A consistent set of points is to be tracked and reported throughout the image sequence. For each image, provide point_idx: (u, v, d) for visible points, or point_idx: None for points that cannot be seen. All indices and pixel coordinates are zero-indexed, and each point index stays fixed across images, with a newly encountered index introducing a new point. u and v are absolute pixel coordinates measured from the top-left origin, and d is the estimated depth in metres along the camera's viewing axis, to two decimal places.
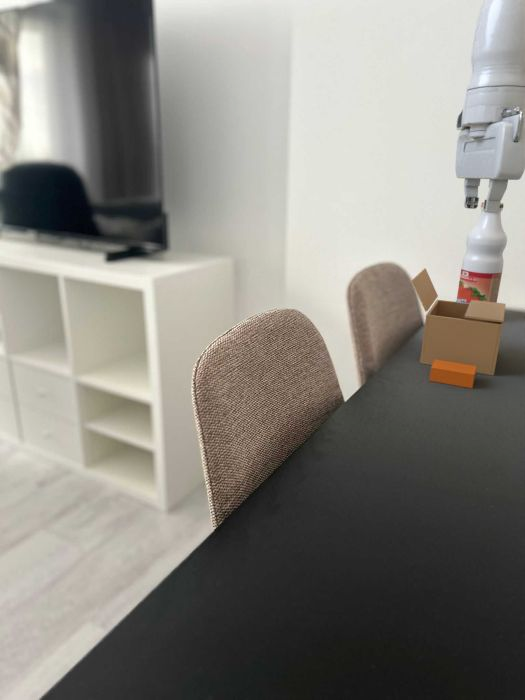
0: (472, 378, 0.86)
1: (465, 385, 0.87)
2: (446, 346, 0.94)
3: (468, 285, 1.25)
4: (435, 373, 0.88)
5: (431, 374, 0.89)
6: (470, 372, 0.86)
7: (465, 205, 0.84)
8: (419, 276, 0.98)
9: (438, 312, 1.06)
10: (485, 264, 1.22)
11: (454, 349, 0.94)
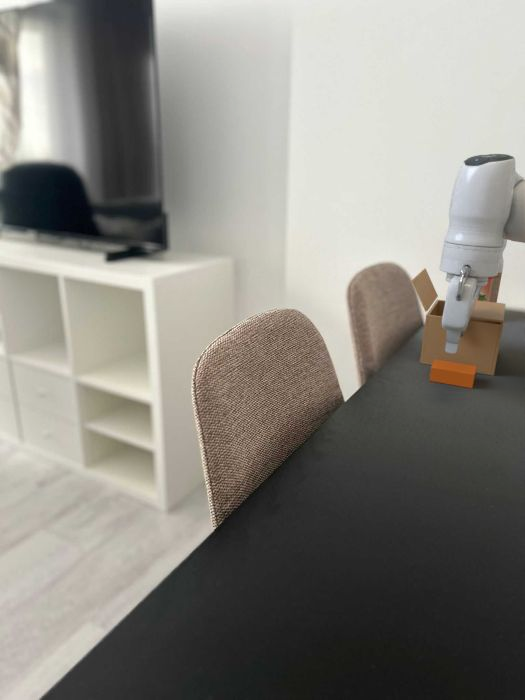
0: (472, 378, 0.86)
1: (465, 385, 0.87)
2: None
3: None
4: (435, 373, 0.88)
5: (431, 374, 0.89)
6: (470, 372, 0.86)
7: None
8: (419, 276, 0.98)
9: (438, 312, 1.06)
10: None
11: None
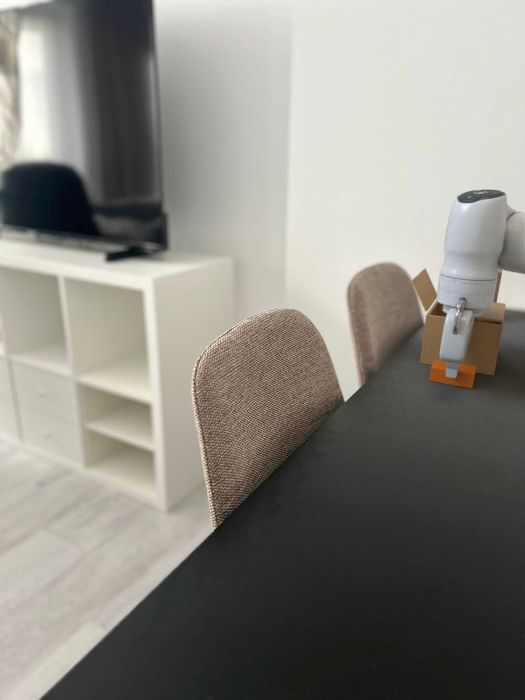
0: (472, 378, 0.86)
1: (465, 385, 0.86)
2: None
3: None
4: (434, 373, 0.88)
5: (431, 374, 0.89)
6: (470, 372, 0.86)
7: None
8: (419, 276, 0.98)
9: (438, 312, 1.06)
10: None
11: None
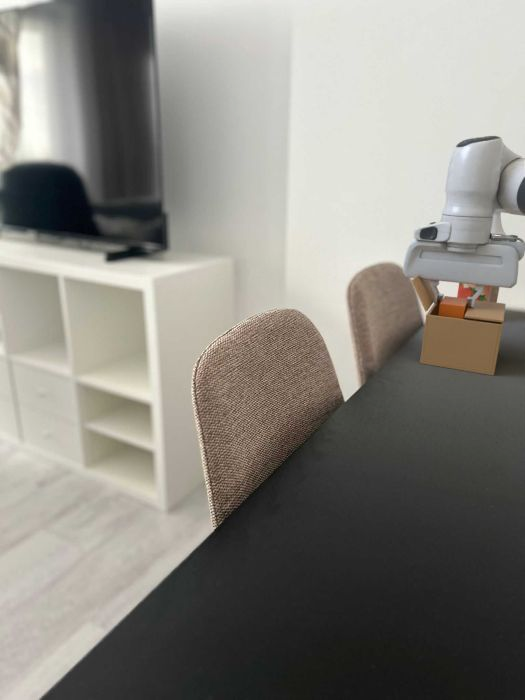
0: None
1: None
2: (446, 346, 0.94)
3: (468, 285, 1.25)
4: (464, 310, 0.95)
5: (464, 313, 0.95)
6: (465, 299, 1.00)
7: (437, 302, 0.99)
8: None
9: (438, 312, 1.06)
10: None
11: (454, 349, 0.94)
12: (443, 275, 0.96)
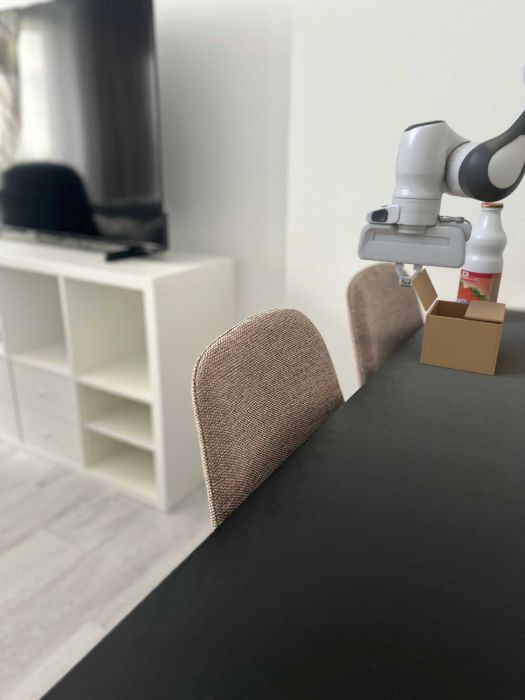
0: None
1: None
2: (446, 346, 0.94)
3: (468, 285, 1.25)
4: None
5: None
6: None
7: (402, 284, 1.01)
8: (419, 276, 0.98)
9: (438, 312, 1.06)
10: (485, 264, 1.22)
11: (454, 349, 0.94)
12: (395, 257, 0.99)
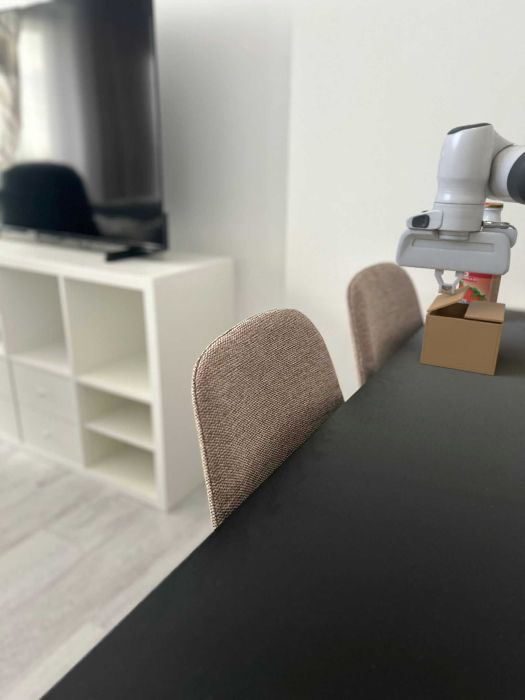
0: None
1: None
2: (446, 346, 0.94)
3: None
4: None
5: None
6: None
7: (442, 291, 0.98)
8: None
9: (438, 312, 1.06)
10: None
11: (454, 349, 0.94)
12: (436, 263, 0.96)
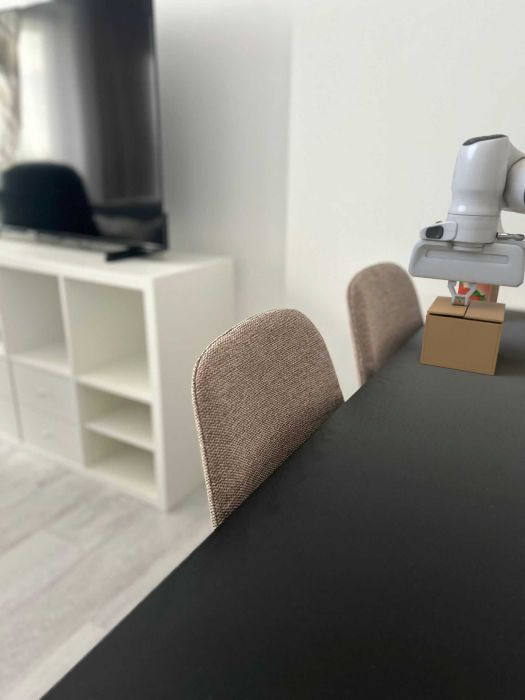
0: None
1: None
2: (446, 346, 0.94)
3: (468, 285, 1.25)
4: None
5: None
6: None
7: (455, 302, 0.97)
8: None
9: None
10: None
11: (454, 349, 0.94)
12: (449, 274, 0.95)
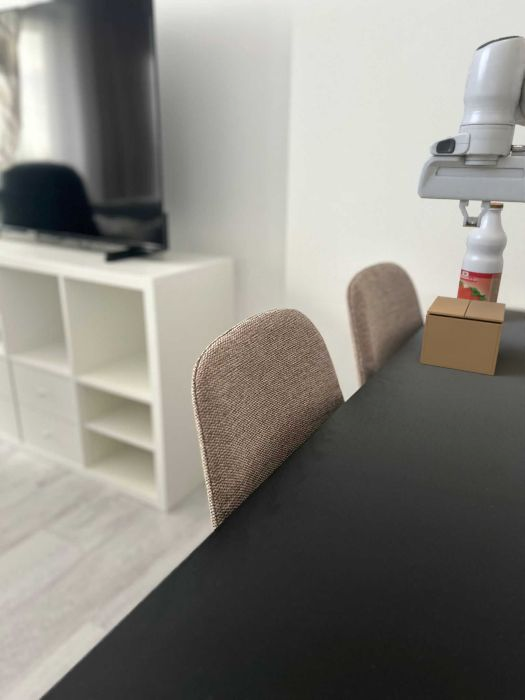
0: None
1: None
2: (446, 346, 0.94)
3: (468, 285, 1.25)
4: None
5: None
6: None
7: (467, 224, 0.92)
8: None
9: None
10: (485, 264, 1.22)
11: (454, 349, 0.94)
12: (461, 193, 0.91)
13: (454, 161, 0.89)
